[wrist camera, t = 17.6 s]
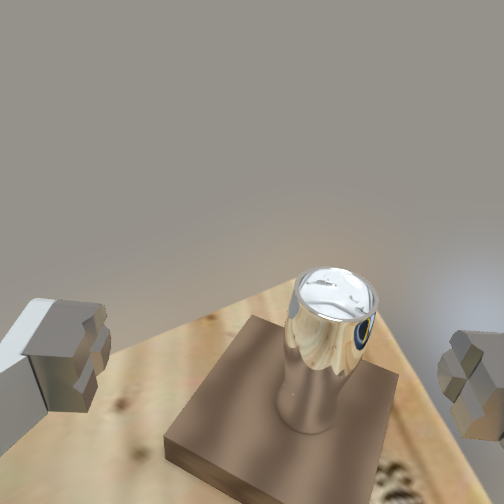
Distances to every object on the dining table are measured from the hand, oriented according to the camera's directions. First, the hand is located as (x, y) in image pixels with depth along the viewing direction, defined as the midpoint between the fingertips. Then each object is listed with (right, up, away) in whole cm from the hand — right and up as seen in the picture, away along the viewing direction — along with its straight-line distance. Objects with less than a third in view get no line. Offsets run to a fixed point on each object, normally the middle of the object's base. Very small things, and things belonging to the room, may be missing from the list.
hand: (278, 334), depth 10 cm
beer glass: (+5, -13, +31) cm, 34 cm away
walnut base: (+3, -16, +33) cm, 37 cm away
